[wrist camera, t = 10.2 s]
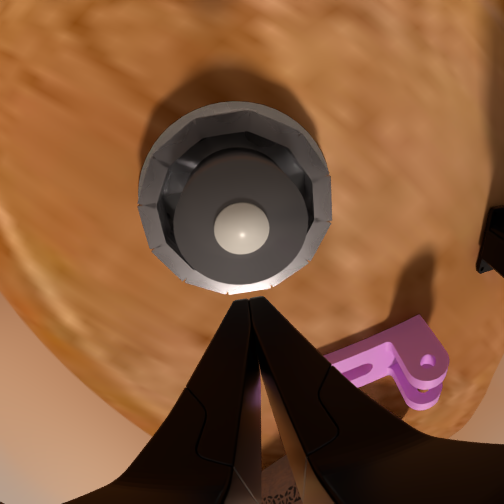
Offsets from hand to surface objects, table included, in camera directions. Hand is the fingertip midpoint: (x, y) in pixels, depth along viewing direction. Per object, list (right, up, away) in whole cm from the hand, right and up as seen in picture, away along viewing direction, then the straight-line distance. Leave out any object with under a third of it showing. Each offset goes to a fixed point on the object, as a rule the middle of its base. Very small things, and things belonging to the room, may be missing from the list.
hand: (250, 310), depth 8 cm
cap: (-1, +5, +8) cm, 10 cm away
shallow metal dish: (-1, +5, +9) cm, 10 cm away
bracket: (+10, -8, +17) cm, 22 cm away
